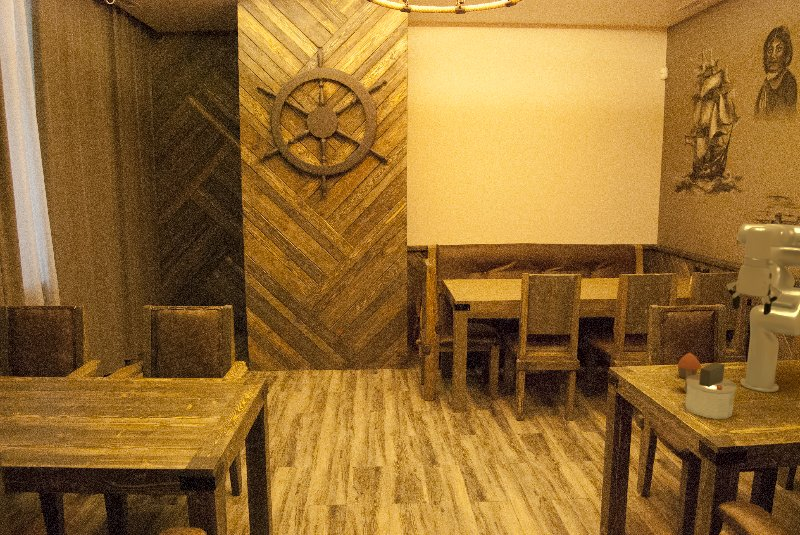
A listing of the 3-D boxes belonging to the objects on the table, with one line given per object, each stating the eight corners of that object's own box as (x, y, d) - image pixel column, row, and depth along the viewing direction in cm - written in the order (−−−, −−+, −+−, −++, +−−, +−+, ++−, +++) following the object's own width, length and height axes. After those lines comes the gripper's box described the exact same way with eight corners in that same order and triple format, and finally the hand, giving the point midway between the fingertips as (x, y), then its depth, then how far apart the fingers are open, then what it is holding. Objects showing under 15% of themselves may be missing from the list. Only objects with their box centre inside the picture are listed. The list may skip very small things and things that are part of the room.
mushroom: (672, 386, 230) (676, 348, 227) (695, 388, 228) (699, 350, 225) (677, 394, 222) (681, 355, 219) (701, 396, 220) (705, 356, 218)
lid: (697, 378, 217) (700, 356, 215) (743, 391, 205) (745, 367, 204) (677, 388, 207) (680, 365, 206) (724, 401, 196) (726, 377, 194)
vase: (698, 381, 236) (700, 359, 234) (679, 380, 237) (681, 358, 236) (693, 375, 242) (695, 354, 241) (675, 374, 244) (677, 353, 242)
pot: (696, 399, 217) (699, 375, 216) (738, 411, 207) (741, 386, 205) (678, 409, 208) (680, 384, 207) (720, 422, 198) (723, 396, 196)
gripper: (788, 265, 202) (782, 314, 205) (734, 258, 216) (729, 305, 218) (780, 267, 198) (774, 318, 201) (725, 260, 211) (720, 308, 214)
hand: (750, 311), depth 210 cm, fingers open, 9 cm apart
